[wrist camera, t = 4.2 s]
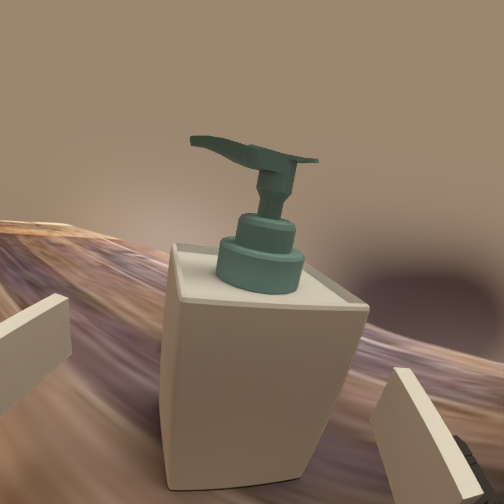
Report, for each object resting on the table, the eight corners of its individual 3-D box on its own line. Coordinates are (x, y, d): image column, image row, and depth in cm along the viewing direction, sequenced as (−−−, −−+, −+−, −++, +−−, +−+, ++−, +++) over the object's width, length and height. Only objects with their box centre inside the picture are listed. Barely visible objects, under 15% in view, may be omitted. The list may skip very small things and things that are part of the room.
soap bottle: (156, 402, 21) (184, 140, 17) (262, 402, 24) (316, 167, 20) (165, 491, 13) (203, 116, 9) (301, 478, 16) (404, 172, 12)
